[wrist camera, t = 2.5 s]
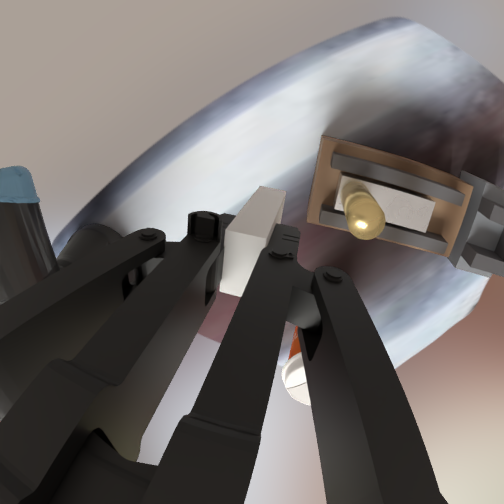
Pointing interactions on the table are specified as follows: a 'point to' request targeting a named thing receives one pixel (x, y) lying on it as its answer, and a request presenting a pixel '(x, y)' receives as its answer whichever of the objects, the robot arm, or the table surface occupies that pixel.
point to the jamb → (481, 230)
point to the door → (397, 174)
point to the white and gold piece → (379, 206)
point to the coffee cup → (296, 373)
